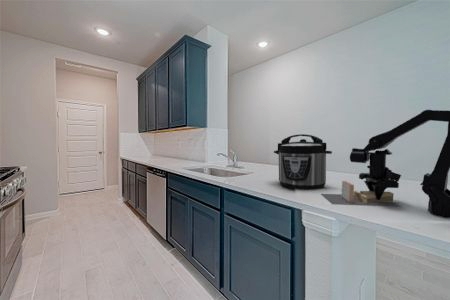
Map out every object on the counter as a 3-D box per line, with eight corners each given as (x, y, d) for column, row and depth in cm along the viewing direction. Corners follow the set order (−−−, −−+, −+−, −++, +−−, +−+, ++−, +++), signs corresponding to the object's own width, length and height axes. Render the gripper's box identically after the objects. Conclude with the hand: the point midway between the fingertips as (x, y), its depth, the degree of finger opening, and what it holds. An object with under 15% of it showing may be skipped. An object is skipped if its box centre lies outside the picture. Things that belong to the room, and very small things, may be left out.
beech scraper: (398, 204, 84) (398, 195, 83) (364, 203, 86) (364, 194, 85) (384, 198, 92) (384, 189, 92) (353, 197, 94) (354, 189, 94)
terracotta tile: (353, 202, 87) (353, 184, 86) (349, 202, 87) (349, 184, 86) (345, 197, 95) (345, 180, 94) (341, 197, 95) (341, 180, 94)
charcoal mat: (402, 209, 81) (402, 206, 81) (332, 206, 85) (332, 204, 85) (378, 197, 97) (378, 195, 97) (320, 195, 101) (320, 193, 101)
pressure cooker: (266, 183, 129) (266, 134, 127) (298, 178, 142) (298, 134, 140) (303, 195, 102) (304, 133, 100) (338, 188, 115) (339, 133, 113)
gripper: (414, 167, 77) (412, 206, 78) (383, 161, 96) (382, 193, 97) (383, 167, 79) (381, 205, 80) (358, 161, 98) (358, 192, 99)
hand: (376, 198), depth 89 cm, fingers closed on beech scraper, 3 cm apart
